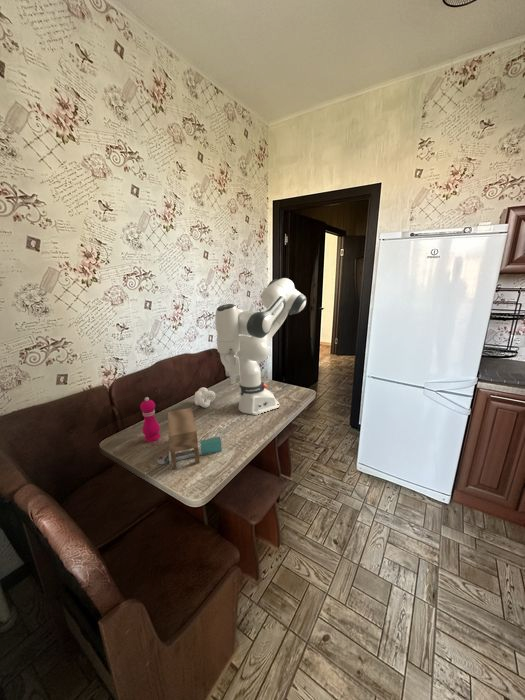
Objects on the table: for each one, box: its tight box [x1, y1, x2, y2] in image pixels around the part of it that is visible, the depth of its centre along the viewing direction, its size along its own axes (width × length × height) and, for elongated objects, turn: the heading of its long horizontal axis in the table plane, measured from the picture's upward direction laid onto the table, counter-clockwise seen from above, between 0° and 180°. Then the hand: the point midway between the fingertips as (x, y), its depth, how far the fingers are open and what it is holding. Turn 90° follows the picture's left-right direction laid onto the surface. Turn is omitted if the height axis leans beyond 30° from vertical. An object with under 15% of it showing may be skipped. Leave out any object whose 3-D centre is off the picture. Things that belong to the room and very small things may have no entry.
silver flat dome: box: [156, 455, 169, 466], centre depth 109 cm, size 4×4×1 cm
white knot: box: [194, 387, 216, 409], centre depth 155 cm, size 11×12×9 cm
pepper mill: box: [140, 396, 161, 443], centre depth 122 cm, size 7×7×20 cm
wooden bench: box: [167, 407, 201, 470], centre depth 113 cm, size 10×20×14 cm, turn 19°
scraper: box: [168, 436, 223, 466], centre depth 112 cm, size 20×6×5 cm, turn 109°
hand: (230, 379), depth 113 cm, fingers open, 8 cm apart
